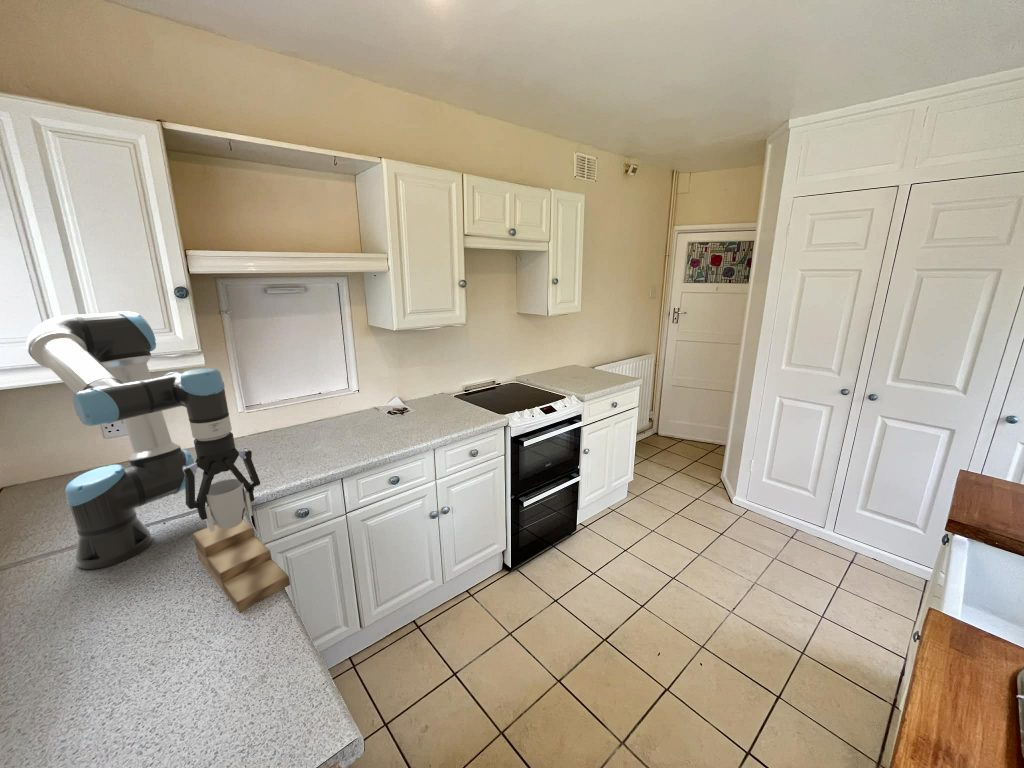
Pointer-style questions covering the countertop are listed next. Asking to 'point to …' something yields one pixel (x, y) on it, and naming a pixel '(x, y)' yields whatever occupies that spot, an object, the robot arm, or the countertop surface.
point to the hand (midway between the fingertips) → (230, 521)
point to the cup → (227, 503)
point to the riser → (240, 564)
